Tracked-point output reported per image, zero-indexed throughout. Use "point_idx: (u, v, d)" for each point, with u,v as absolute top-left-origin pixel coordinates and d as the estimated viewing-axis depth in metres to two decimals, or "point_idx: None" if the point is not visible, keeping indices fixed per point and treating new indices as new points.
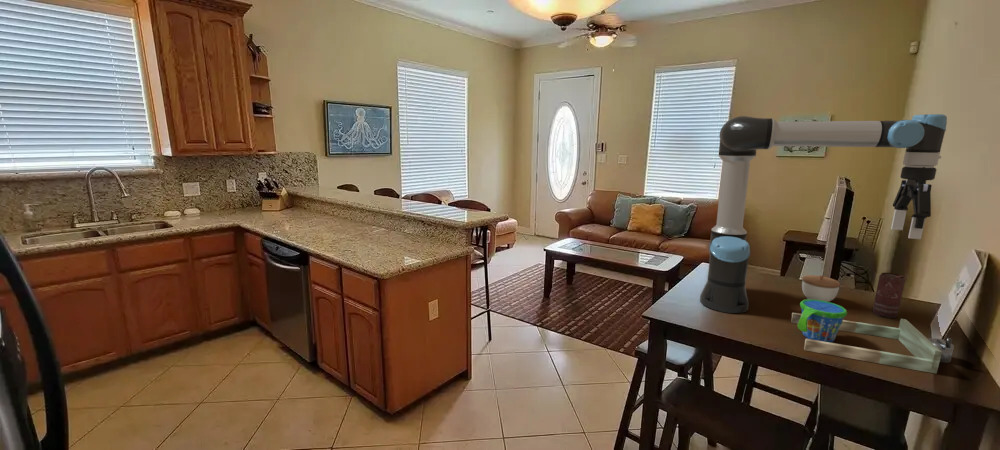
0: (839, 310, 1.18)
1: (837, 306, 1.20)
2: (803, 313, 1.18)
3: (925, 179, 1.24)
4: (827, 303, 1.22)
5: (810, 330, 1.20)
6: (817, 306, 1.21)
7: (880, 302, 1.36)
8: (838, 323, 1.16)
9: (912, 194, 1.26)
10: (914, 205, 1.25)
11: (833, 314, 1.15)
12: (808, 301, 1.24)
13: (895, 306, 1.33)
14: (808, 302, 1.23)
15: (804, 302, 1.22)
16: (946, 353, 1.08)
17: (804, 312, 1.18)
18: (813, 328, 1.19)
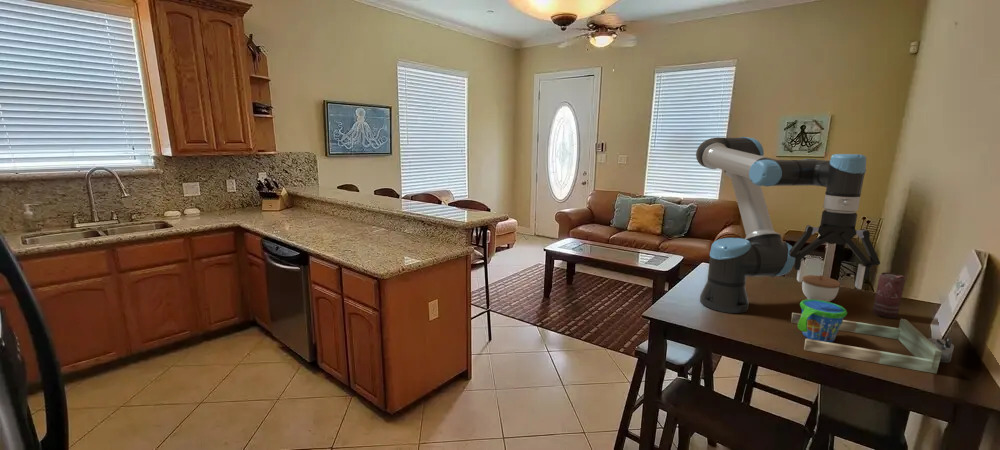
0: (839, 310, 1.18)
1: (837, 306, 1.20)
2: (803, 313, 1.18)
3: (822, 223, 1.15)
4: (827, 303, 1.22)
5: (810, 330, 1.20)
6: (817, 306, 1.21)
7: (880, 302, 1.36)
8: (838, 323, 1.16)
9: None
10: None
11: (833, 314, 1.15)
12: (808, 301, 1.24)
13: (895, 306, 1.33)
14: (808, 302, 1.23)
15: (804, 302, 1.22)
16: (946, 353, 1.08)
17: (804, 312, 1.18)
18: (813, 328, 1.19)
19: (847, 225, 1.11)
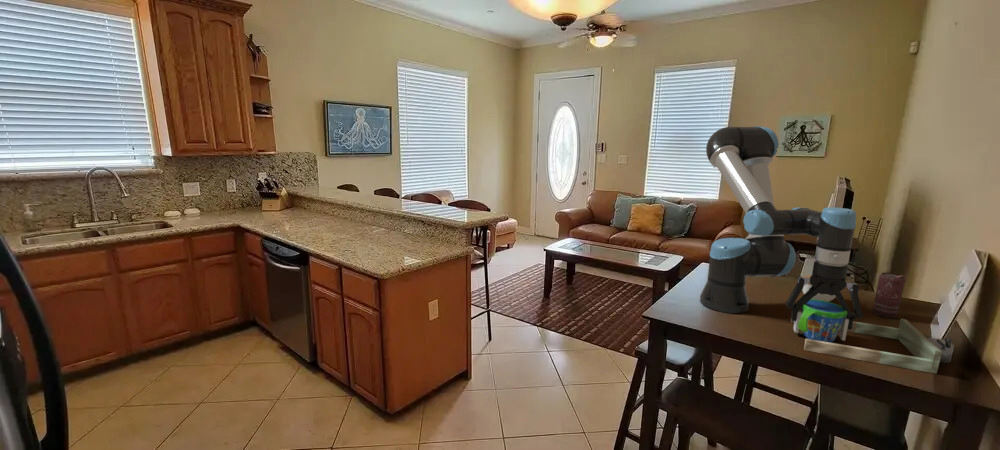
0: (839, 310, 1.18)
1: (837, 306, 1.20)
2: (803, 313, 1.18)
3: (813, 273, 1.19)
4: (827, 303, 1.22)
5: (810, 330, 1.20)
6: (817, 306, 1.21)
7: (880, 302, 1.36)
8: (838, 323, 1.16)
9: None
10: None
11: (833, 314, 1.15)
12: (808, 301, 1.24)
13: (895, 306, 1.33)
14: (808, 302, 1.23)
15: None
16: (946, 353, 1.08)
17: (805, 312, 1.18)
18: (814, 328, 1.19)
19: (837, 278, 1.14)
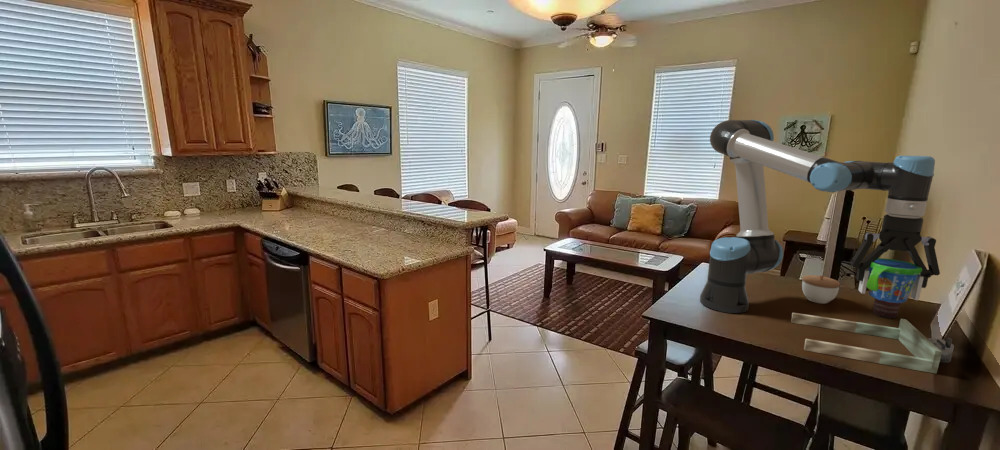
0: (913, 267, 1.09)
1: (909, 263, 1.11)
2: (873, 271, 1.10)
3: (883, 228, 1.10)
4: (897, 261, 1.13)
5: (880, 290, 1.11)
6: (886, 264, 1.12)
7: (880, 302, 1.36)
8: (912, 280, 1.07)
9: (879, 244, 1.13)
10: None
11: (908, 270, 1.06)
12: None
13: (895, 306, 1.33)
14: (876, 260, 1.14)
15: None
16: (946, 353, 1.08)
17: (874, 269, 1.09)
18: (884, 287, 1.10)
19: (913, 231, 1.05)
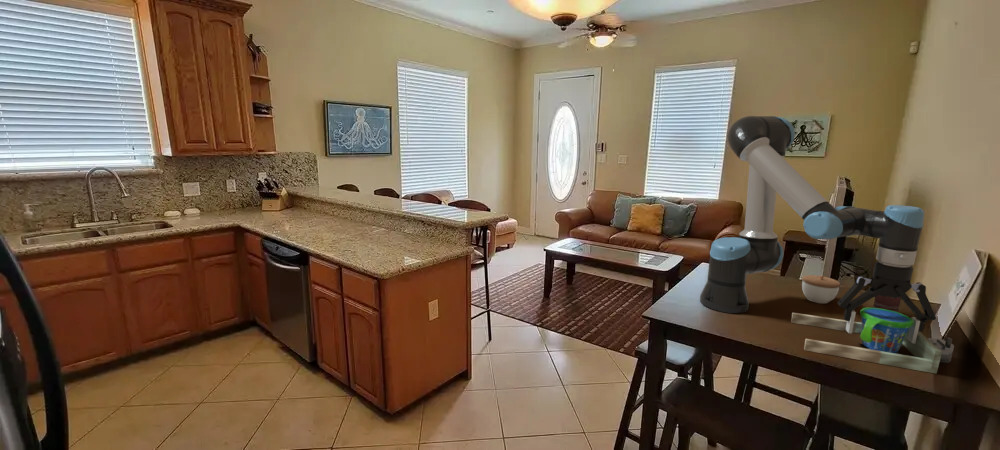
0: (904, 319, 1.12)
1: (900, 315, 1.14)
2: (867, 323, 1.12)
3: (875, 275, 1.13)
4: (888, 311, 1.16)
5: (873, 341, 1.14)
6: (879, 315, 1.15)
7: (880, 302, 1.36)
8: (904, 333, 1.10)
9: (869, 288, 1.15)
10: None
11: (900, 324, 1.09)
12: (868, 309, 1.18)
13: (895, 306, 1.33)
14: (869, 310, 1.17)
15: (865, 311, 1.16)
16: (946, 353, 1.08)
17: (868, 321, 1.12)
18: (877, 338, 1.12)
19: (903, 279, 1.08)
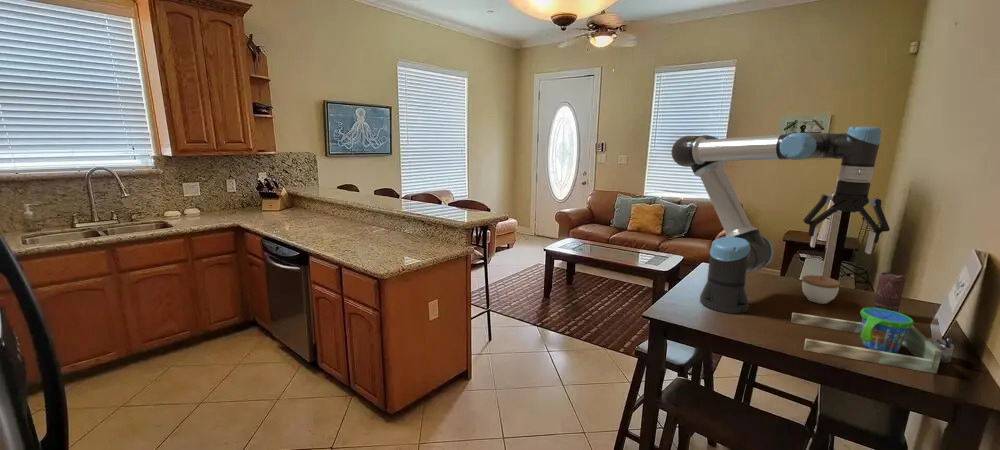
0: (904, 319, 1.12)
1: (901, 315, 1.14)
2: (867, 323, 1.12)
3: (836, 191, 1.24)
4: (889, 311, 1.16)
5: (873, 341, 1.13)
6: (879, 315, 1.15)
7: (880, 302, 1.36)
8: (905, 333, 1.10)
9: (832, 206, 1.26)
10: None
11: (900, 324, 1.09)
12: (868, 309, 1.18)
13: (895, 306, 1.33)
14: (869, 310, 1.17)
15: (865, 311, 1.16)
16: (946, 353, 1.08)
17: (868, 321, 1.12)
18: (877, 338, 1.12)
19: (860, 193, 1.19)
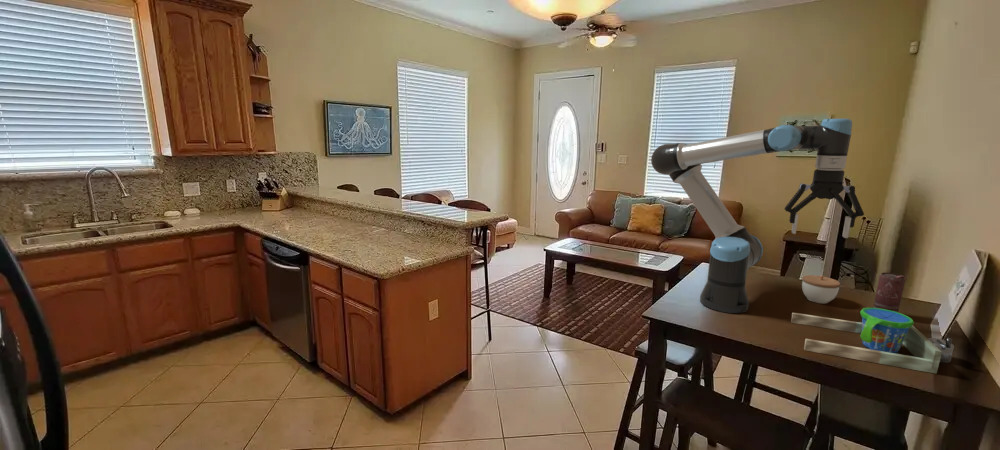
0: (904, 319, 1.12)
1: (901, 315, 1.14)
2: (867, 323, 1.12)
3: (813, 180, 1.32)
4: (889, 311, 1.16)
5: (873, 341, 1.13)
6: (879, 315, 1.15)
7: (880, 302, 1.36)
8: (905, 333, 1.10)
9: (810, 194, 1.34)
10: None
11: (900, 324, 1.09)
12: (868, 309, 1.18)
13: (895, 306, 1.33)
14: (869, 310, 1.17)
15: (865, 311, 1.16)
16: (946, 353, 1.08)
17: (868, 321, 1.12)
18: (877, 338, 1.12)
19: (835, 181, 1.27)
